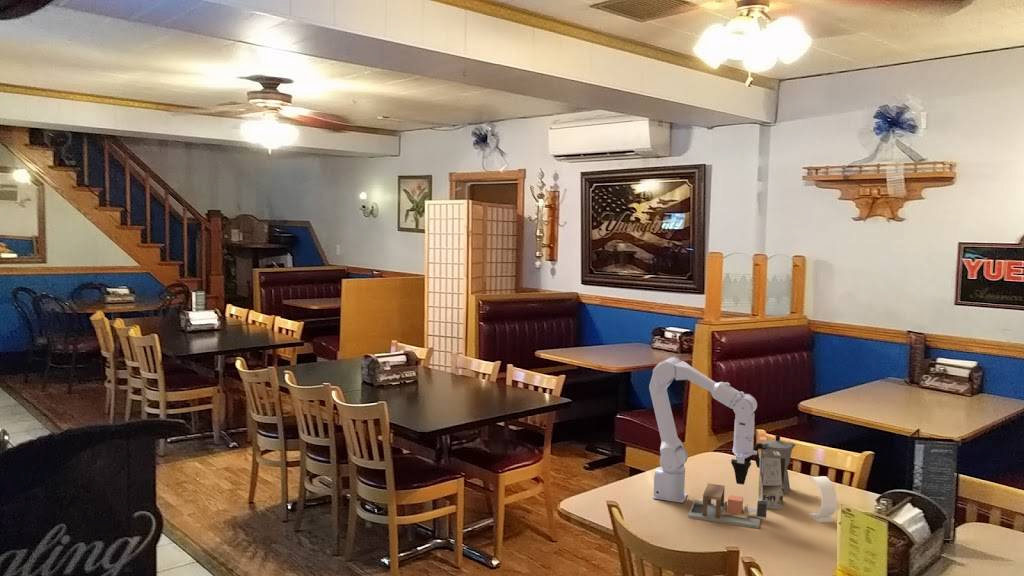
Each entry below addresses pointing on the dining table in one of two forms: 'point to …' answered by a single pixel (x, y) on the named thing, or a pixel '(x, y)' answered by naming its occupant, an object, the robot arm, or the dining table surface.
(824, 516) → the headphone stand
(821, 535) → the dining table surface
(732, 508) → the block
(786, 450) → the coffeepot
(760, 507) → the sled
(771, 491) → the coffee box
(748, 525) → the track board
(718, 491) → the bridge
